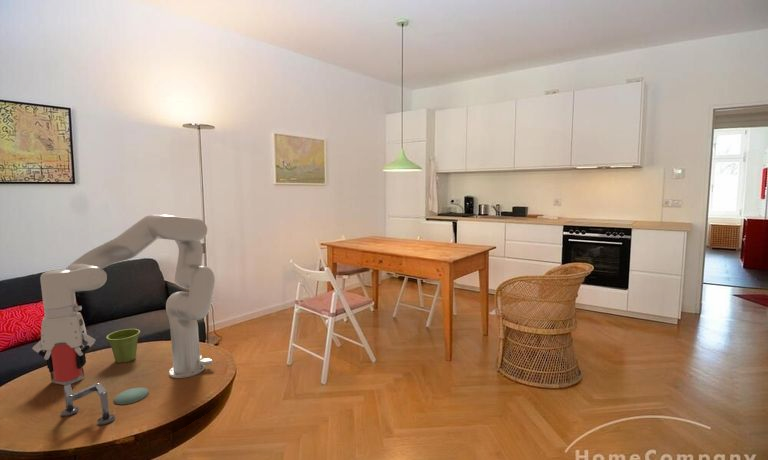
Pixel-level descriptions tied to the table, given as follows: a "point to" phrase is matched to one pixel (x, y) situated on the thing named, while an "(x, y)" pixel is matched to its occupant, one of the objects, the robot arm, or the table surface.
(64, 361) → the beer can
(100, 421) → the zigzag metal bar linkage
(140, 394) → the coaster
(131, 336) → the plant pot
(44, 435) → the table surface
